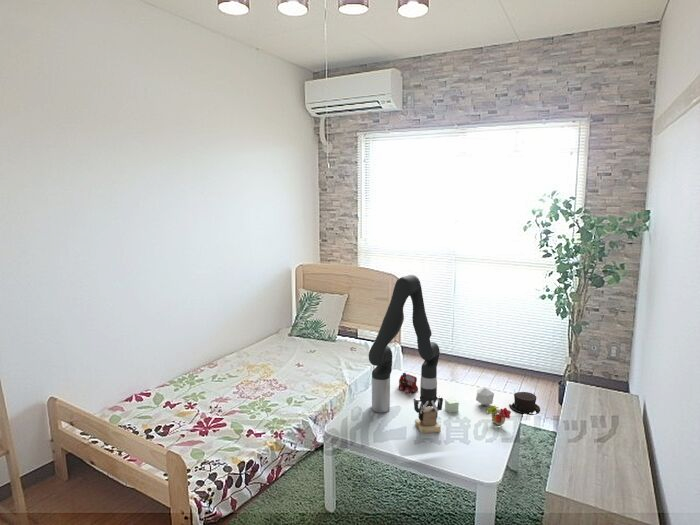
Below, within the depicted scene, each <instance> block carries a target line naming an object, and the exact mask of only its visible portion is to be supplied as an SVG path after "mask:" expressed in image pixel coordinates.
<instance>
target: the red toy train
mask: <svg viewBox="0 0 700 525" xmlns="http://www.w3.org/2000/svg"><path fill="white" fill-rule="evenodd" d="M417 381H418V378H417V376H414V375H411V374H409V373H406V372H403V373H402V374H401V375H400V377H399V379H398V387H397V388H398V390H399V391H401V392H404V393H406V394H407V395H411V394H412V393H416V392H418V391H419V387H418V385H417Z"/></svg>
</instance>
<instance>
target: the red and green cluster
mask: <svg viewBox="0 0 700 525" xmlns="http://www.w3.org/2000/svg"><path fill="white" fill-rule="evenodd" d="M486 412H487V413H486V415H489V414H490V413H491V421H492V422H493V423H494V424H496V425H497V426H502V425H504V424H505V422H506V419H510V418H511V414H512V411H511V410H508V409H507V407H504V408H500V409H499V406H496V405H490V407H488V408H486Z"/></svg>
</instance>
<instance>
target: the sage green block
mask: <svg viewBox="0 0 700 525" xmlns="http://www.w3.org/2000/svg"><path fill="white" fill-rule="evenodd" d="M444 401H445V403H444V410H446V412H448V413H449V414H452V413H451V412H453V413H459V405H460V404H459V401H457V400H456V398H448V399H444Z"/></svg>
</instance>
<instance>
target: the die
mask: <svg viewBox="0 0 700 525" xmlns="http://www.w3.org/2000/svg"><path fill="white" fill-rule="evenodd" d="M494 397H495V393H494V392H493V391H491V390H490V389H489V388H487V387H483V388H479V389H477V392H476V397H475V401H477V402H478V403H479V404H480V405H483V406H484V405H486V406H489V405H492V404H493V401H494Z"/></svg>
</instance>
